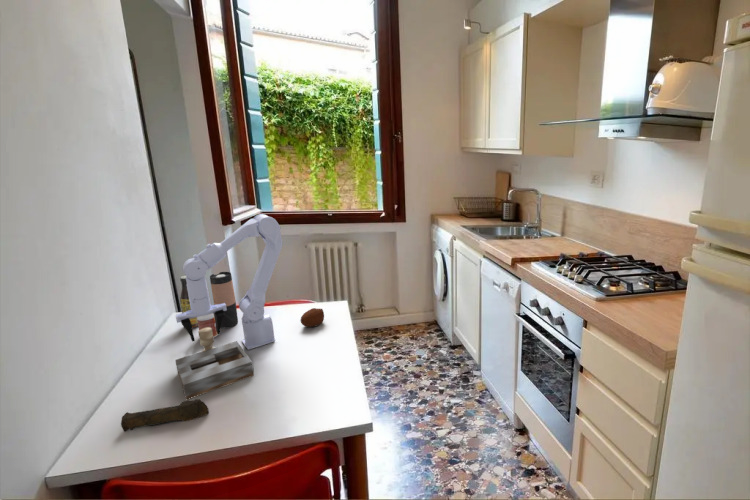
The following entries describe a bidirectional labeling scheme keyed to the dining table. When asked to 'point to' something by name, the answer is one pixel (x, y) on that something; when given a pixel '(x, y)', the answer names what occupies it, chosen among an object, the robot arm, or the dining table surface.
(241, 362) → the keyhole plate
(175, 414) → the hand tool
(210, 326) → the pill bottle
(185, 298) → the sauce bottle
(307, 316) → the potato
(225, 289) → the travel mug
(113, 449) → the dining table surface
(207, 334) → the keyhole peg
